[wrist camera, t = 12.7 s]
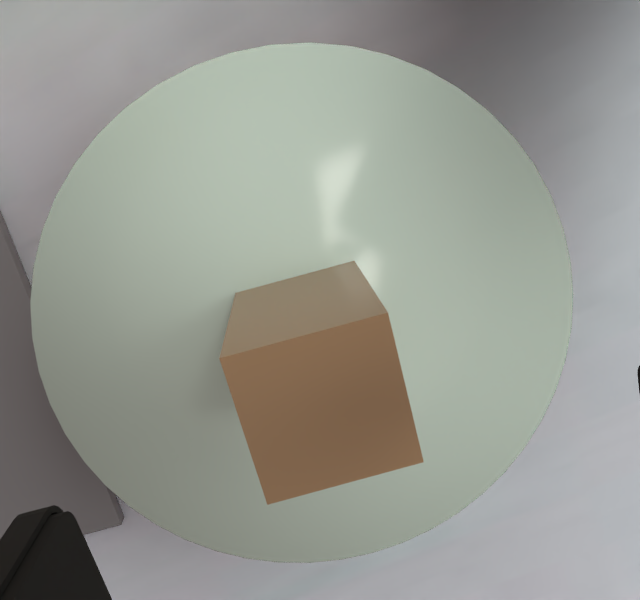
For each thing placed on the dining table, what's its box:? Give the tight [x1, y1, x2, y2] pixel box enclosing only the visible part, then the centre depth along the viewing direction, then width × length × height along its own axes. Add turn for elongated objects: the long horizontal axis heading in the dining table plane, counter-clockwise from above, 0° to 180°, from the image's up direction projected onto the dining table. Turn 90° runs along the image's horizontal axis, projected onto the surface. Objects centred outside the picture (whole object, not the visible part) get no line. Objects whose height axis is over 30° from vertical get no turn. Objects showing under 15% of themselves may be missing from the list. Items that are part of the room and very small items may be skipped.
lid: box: [30, 43, 573, 563], centre depth 18 cm, size 18×18×7 cm
